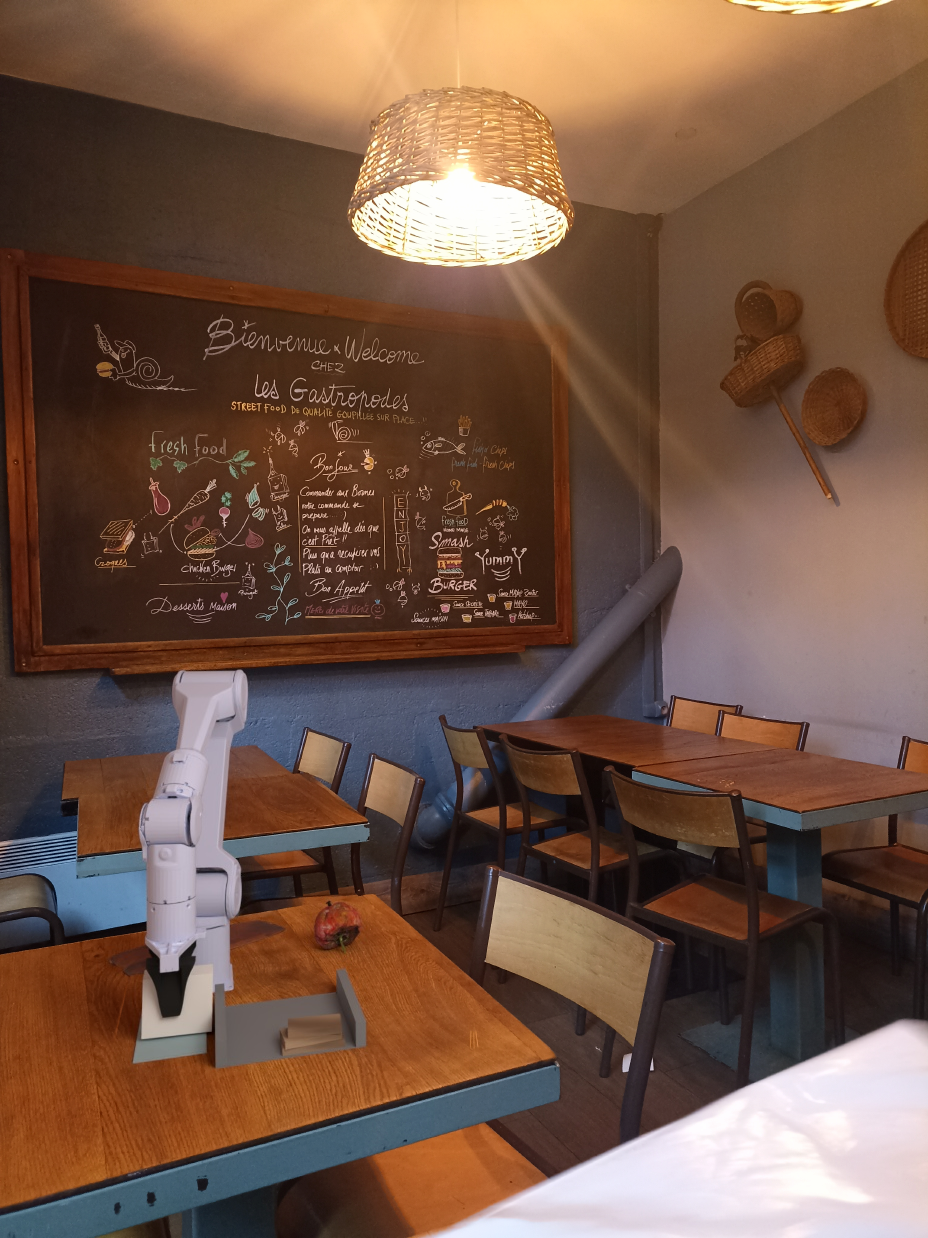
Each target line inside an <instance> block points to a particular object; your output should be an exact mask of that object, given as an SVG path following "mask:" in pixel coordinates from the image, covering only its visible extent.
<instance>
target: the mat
mask: <svg viewBox="0 0 928 1238" xmlns="http://www.w3.org/2000/svg"><path fill="white" fill-rule="evenodd" d="M138 1025H139V1026H138V1030H137V1031H138V1032H137V1035H136V1042H135V1048H134V1053H133V1058H132V1064H139V1063H140V1064H141V1063H145V1062H152V1061H160V1060H168V1059H175V1058H180V1057H181V1058H182V1057H188V1056H196V1055H201V1054H207V1039H208V1037H207V1036H208V1035H207V1033H208V1032H202V1033H193V1034H184V1035H175V1036H166V1037H157V1038H148V1039H141V1037H142V1015H141V1016H140V1019H139V1024H138Z"/></svg>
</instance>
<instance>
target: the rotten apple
mask: <svg viewBox="0 0 928 1238" xmlns="http://www.w3.org/2000/svg"><path fill="white" fill-rule="evenodd" d="M325 904H326V905H327V906H325V907H324V908H322V909H321V910H320V911H319V912H318V913H317V915H316V917H315V920H314V927H313V929H314V939H315V941H316V943H317V944H318V945H320V946H321V947H322V948H323V949H324V950H332V949H335V948H338V946H339V947H341V948H342V951H343V953H344V954H346V951H345V950H346V949H345V948H346V946H348V945H350V944H352V943H354V942H355V940H356V938H357V937H359V934H360V933H361V932H362V930H363V929H362V928H363V920H362V915H361V914H360V913H359V912H358V910H356V909H357V908H355V907H353V906H350V905H349V904H348V903H346V902H343V901H341V902H340V901H338V902H335V903H332V902H331V900H327V902H325Z"/></svg>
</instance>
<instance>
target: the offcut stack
mask: <svg viewBox="0 0 928 1238" xmlns="http://www.w3.org/2000/svg"><path fill="white" fill-rule="evenodd" d="M280 1044H281V1050H282V1056H288V1055H294V1054H301V1053H308V1052H315V1051H322V1050H329V1049H335V1048H342V1047H345V1038H344V1035H343V1032H342V1024H341V1017H340V1014H332V1015H321V1016H311V1017H300V1018H290V1019H288V1028H284V1029H280Z"/></svg>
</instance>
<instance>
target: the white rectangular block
mask: <svg viewBox="0 0 928 1238" xmlns="http://www.w3.org/2000/svg"><path fill="white" fill-rule="evenodd" d="M142 978H143V979H142V1000H141V1002H142V1003H141V1004H142V1006H141V1007H142V1009H141V1016H142V1037H141V1039H148V1038H157V1037H166V1036H175V1035H184V1034H193V1033H202V1032H207V1033H210V1032H211V1033H212V1031H213V994H214V993H213V964H209V965H197V966H194V967H193V969H192V971H191V973H190V975H189V978H188V981H187V984H186V989H185V995H184V1002H183V1007H182V1011H181V1015H180V1016H174V1017H167V1018H162V1015H161V1012H160V1007H159V1002H158V997H157V992H156V989H155V986H154V983H153V981H152V979H151V977H150V975H149V974H148V972H147V970H145V971H144V974H143V977H142Z"/></svg>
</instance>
